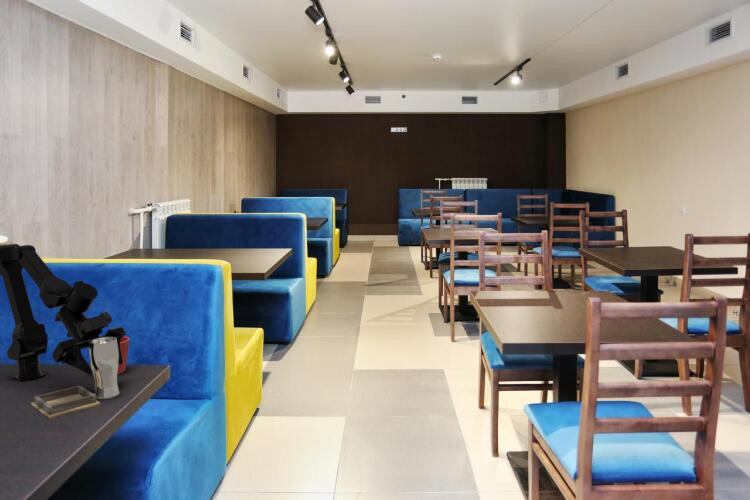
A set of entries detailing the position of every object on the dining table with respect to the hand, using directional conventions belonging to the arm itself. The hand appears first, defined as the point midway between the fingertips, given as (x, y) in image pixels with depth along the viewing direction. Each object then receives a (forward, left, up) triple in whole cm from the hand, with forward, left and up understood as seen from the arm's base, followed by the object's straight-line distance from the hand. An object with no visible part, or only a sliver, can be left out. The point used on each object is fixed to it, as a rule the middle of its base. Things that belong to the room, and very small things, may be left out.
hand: (106, 368), depth 157 cm
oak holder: (-2, -10, -7) cm, 13 cm away
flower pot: (-20, +9, -8) cm, 23 cm away
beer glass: (-1, 0, -8) cm, 8 cm away
